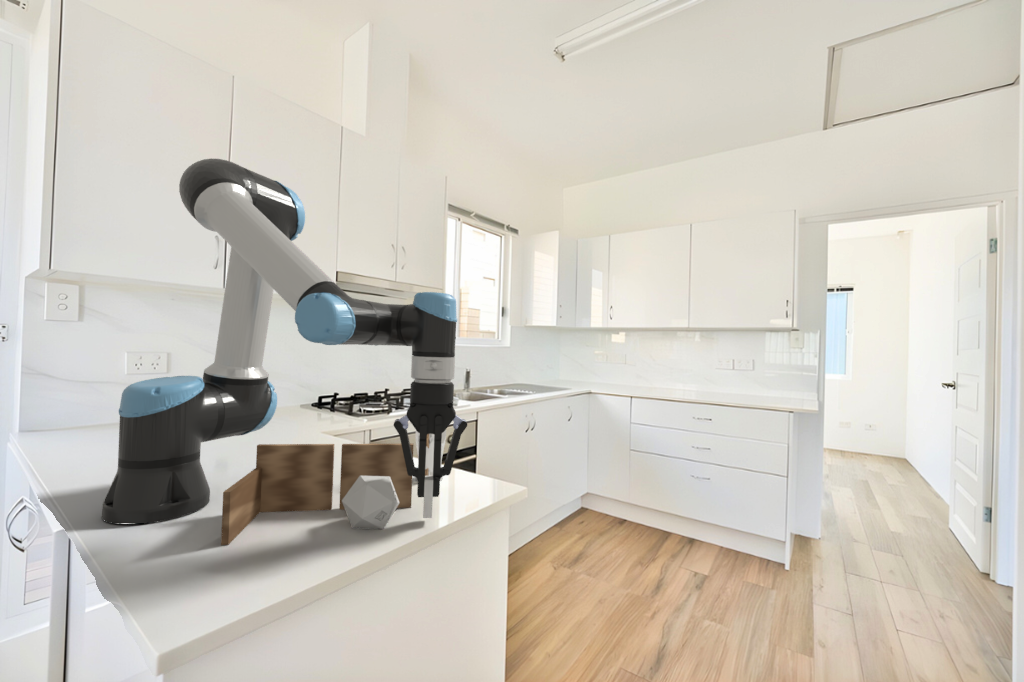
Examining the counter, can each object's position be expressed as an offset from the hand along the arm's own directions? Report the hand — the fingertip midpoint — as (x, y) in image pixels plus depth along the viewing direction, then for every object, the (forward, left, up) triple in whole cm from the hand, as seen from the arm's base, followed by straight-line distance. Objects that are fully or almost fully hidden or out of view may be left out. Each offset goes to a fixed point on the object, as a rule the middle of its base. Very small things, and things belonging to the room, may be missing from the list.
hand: (427, 514), depth 78 cm
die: (-10, 0, -2) cm, 10 cm away
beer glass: (0, +25, -2) cm, 25 cm away
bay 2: (-10, +8, -1) cm, 12 cm away
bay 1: (-24, +1, -1) cm, 24 cm away
